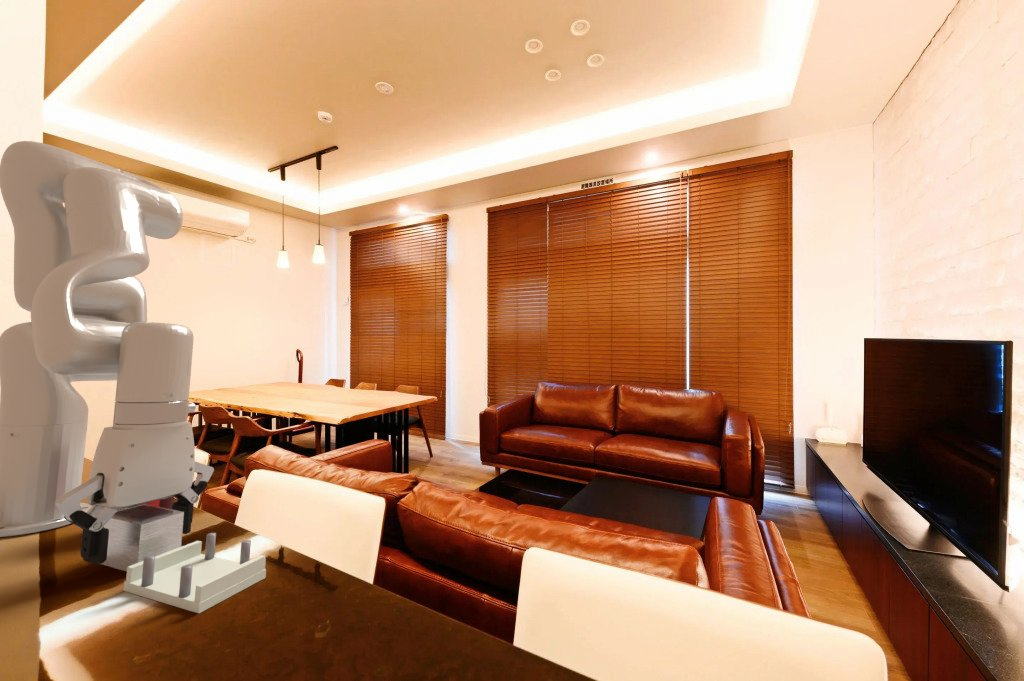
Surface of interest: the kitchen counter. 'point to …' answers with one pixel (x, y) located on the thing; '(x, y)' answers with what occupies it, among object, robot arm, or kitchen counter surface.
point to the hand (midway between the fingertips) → (140, 545)
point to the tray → (194, 575)
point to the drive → (142, 534)
